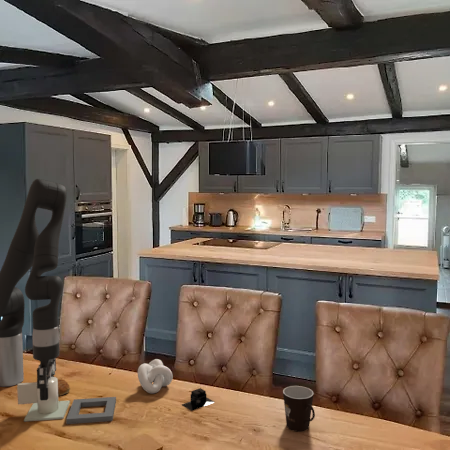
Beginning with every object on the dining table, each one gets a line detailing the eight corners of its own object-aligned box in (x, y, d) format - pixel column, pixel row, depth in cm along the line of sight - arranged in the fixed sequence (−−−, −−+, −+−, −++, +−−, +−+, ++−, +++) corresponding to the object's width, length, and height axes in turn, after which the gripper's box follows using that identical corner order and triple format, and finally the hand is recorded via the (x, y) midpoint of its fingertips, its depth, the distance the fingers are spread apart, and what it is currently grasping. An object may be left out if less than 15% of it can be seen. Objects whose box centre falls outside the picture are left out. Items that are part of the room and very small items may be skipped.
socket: (66, 424, 135) (66, 419, 135) (74, 404, 148) (73, 399, 148) (112, 420, 137) (112, 415, 137) (116, 401, 150) (115, 396, 150)
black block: (189, 415, 142) (189, 400, 142) (175, 406, 148) (175, 392, 147) (220, 403, 150) (220, 389, 150) (206, 395, 156) (206, 382, 155)
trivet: (24, 421, 137) (24, 419, 137) (33, 404, 148) (33, 402, 148) (63, 418, 138) (63, 416, 138) (69, 402, 149) (69, 400, 149)
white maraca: (60, 404, 147) (59, 376, 146) (56, 413, 141) (55, 383, 140) (21, 407, 145) (20, 378, 144) (16, 416, 139) (14, 386, 138)
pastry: (75, 391, 158) (75, 380, 157) (57, 398, 152) (57, 387, 152) (59, 384, 163) (59, 374, 163) (41, 391, 158) (41, 380, 158)
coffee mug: (281, 418, 139) (281, 385, 138) (310, 419, 138) (311, 386, 138) (285, 439, 127) (285, 403, 126) (317, 439, 127) (317, 404, 126)
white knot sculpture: (155, 400, 151) (154, 372, 151) (127, 391, 157) (127, 365, 157) (176, 387, 161) (176, 362, 160) (150, 380, 167) (149, 355, 166)
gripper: (54, 348, 135) (55, 403, 136) (63, 333, 149) (64, 383, 150) (26, 350, 134) (28, 405, 135) (38, 335, 148) (40, 384, 149)
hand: (47, 393), depth 143 cm, fingers open, 8 cm apart
